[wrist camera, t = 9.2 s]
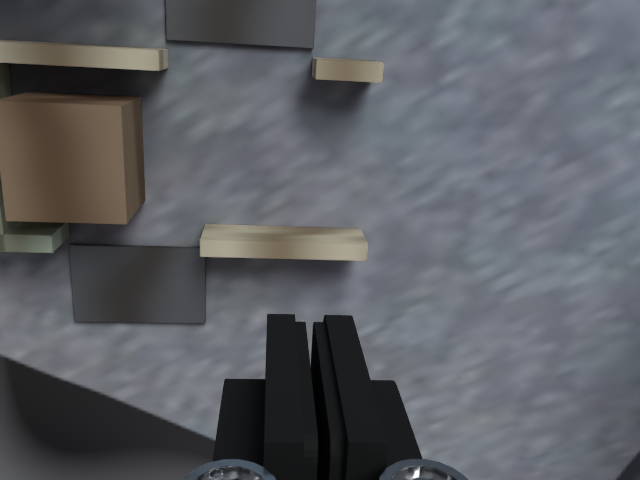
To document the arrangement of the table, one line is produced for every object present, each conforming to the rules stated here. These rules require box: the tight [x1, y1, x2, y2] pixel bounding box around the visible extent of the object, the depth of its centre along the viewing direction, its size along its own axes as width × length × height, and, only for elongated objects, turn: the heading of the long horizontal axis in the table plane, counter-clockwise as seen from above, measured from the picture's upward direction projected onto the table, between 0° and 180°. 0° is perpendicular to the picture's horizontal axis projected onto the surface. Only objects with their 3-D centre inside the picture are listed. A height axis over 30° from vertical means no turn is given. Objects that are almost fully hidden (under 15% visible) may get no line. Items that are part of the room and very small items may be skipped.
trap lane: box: [0, 0, 384, 323], centre depth 34 cm, size 21×22×3 cm
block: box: [0, 92, 145, 224], centre depth 32 cm, size 6×6×5 cm
